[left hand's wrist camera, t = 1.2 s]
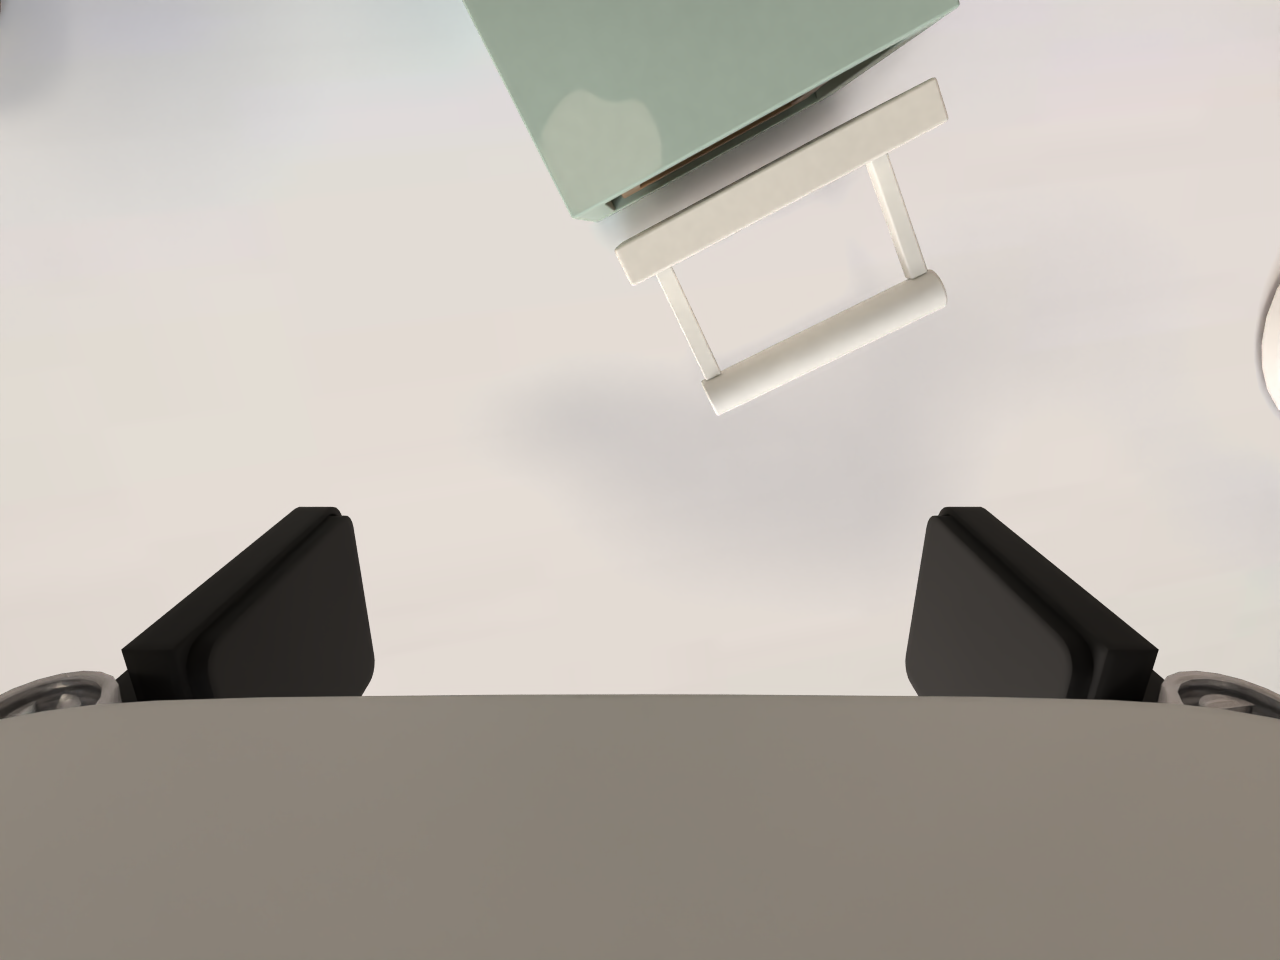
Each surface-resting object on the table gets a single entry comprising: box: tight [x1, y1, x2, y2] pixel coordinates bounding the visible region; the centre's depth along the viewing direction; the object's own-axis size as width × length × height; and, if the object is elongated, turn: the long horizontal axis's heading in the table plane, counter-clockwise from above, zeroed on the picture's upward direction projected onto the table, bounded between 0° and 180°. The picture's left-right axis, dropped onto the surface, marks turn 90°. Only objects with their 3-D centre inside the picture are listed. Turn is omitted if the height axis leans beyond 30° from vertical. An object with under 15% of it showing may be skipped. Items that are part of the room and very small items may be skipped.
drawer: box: [615, 78, 948, 415], centre depth 23 cm, size 21×10×10 cm, turn 27°
